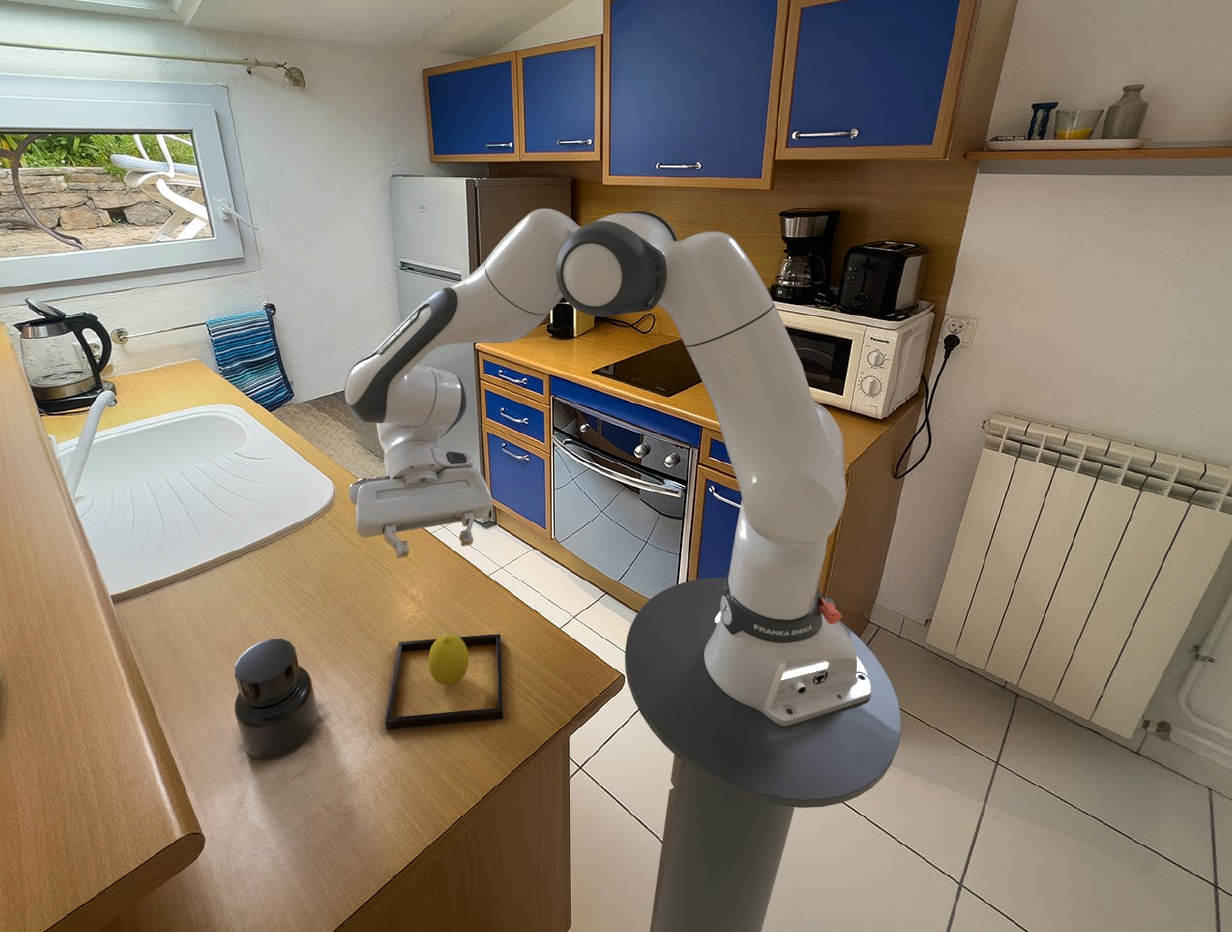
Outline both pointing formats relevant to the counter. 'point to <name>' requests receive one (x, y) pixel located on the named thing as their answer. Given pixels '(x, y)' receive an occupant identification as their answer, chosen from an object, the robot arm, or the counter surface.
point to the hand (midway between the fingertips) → (436, 549)
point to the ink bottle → (273, 700)
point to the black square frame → (447, 716)
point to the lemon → (448, 659)
